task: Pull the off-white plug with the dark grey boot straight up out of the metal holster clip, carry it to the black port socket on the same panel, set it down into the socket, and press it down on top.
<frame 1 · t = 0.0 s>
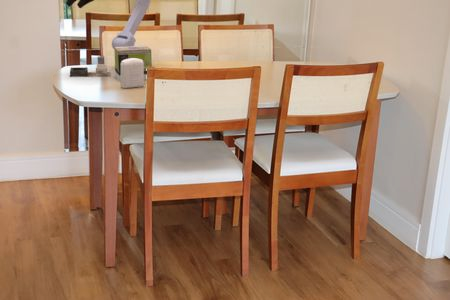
hand: (73, 5, 270), 32 cm above the table, tool tilted 50°, fingers open, 7 cm apart
panel: (90, 76, 287), on the table
tea box: (133, 80, 283), on the table
plug: (101, 74, 287), point 1 cm above the table, touching panel
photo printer: (132, 87, 271), on the table
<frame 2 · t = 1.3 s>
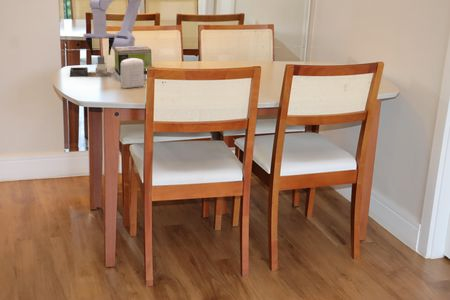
hand: (100, 54, 284), 10 cm above the table, tool pointing down, fingers open, 7 cm apart
nothing on the table moved.
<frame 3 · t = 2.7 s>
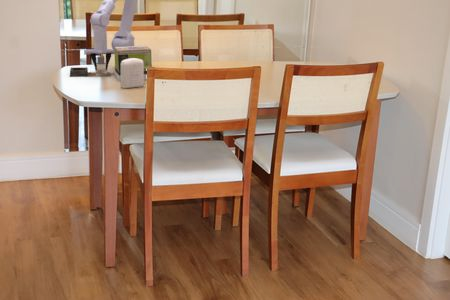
hand: (101, 70, 287), 3 cm above the table, tool pointing down, fingers closed on plug, 4 cm apart
plug: (101, 74, 287), point 1 cm above the table, touching gripper, panel
everything else where it was.
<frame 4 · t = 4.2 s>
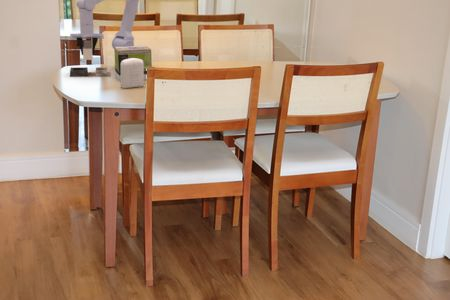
hand: (87, 54, 283), 10 cm above the table, tool pointing down, fingers closed on plug, 4 cm apart
plug: (88, 59, 284), point 8 cm above the table, touching gripper
everything else where it was.
when the fingers open (4 cm above the table, at t = 6.0 s): plug drops 1 cm, resting on panel.
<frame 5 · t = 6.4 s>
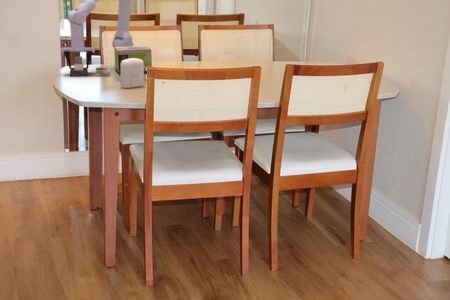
hand: (78, 68, 284), 4 cm above the table, tool pointing down, fingers open, 7 cm apart
plug: (79, 74, 285), point 1 cm above the table, touching panel
everything else where it was.
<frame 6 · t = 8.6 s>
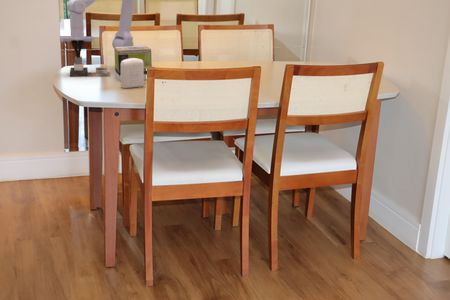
hand: (78, 57, 283), 9 cm above the table, tool pointing down, fingers closed, pressing on plug
plug: (79, 74, 285), point 1 cm above the table, touching gripper, panel
everything else where it was.
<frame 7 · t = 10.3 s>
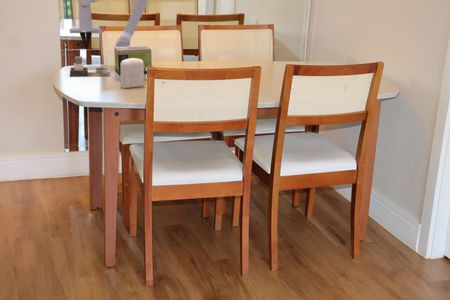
hand: (86, 48, 296), 10 cm above the table, tool pointing down, fingers closed
plug: (79, 74, 285), point 1 cm above the table, touching panel
everything else where it was.
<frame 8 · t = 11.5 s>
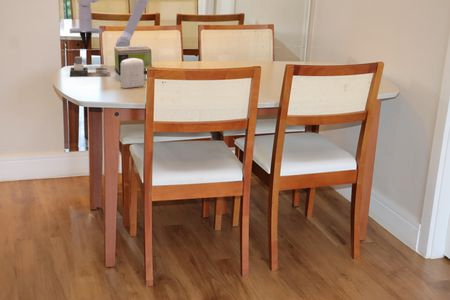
hand: (86, 48, 296), 10 cm above the table, tool pointing down, fingers closed
nothing on the table moved.
at the end: plug 0.1 cm from the target spot, point 1.0 cm above the table; plug tilted 0°; the gripper is holding nothing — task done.
